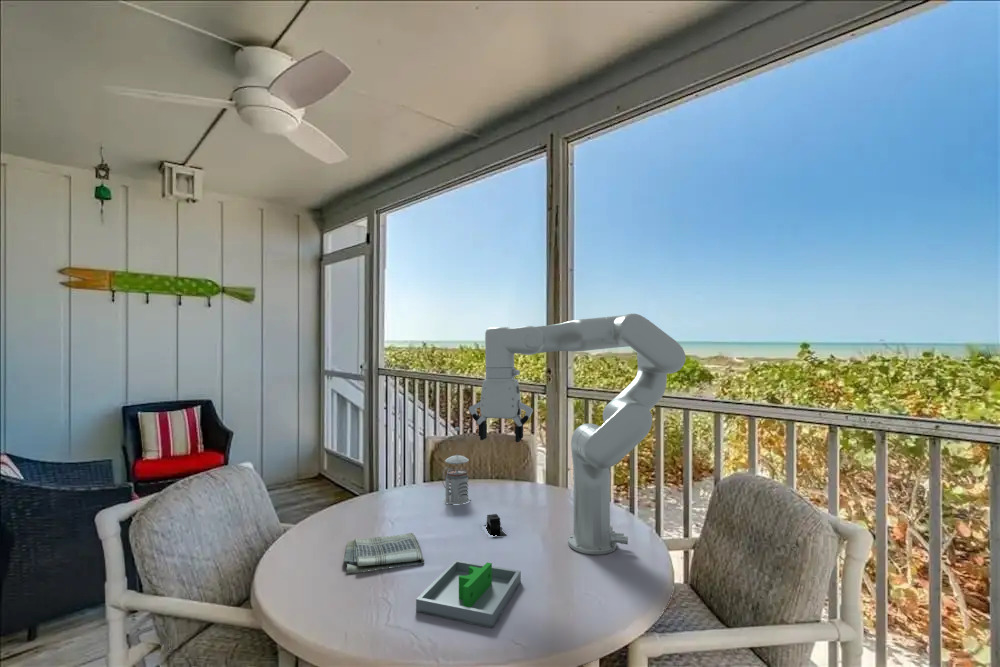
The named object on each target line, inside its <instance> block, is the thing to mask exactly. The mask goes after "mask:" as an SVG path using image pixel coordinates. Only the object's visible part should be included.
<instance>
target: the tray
mask: <svg viewBox="0 0 1000 667" xmlns="http://www.w3.org/2000/svg"><path fill="white" fill-rule="evenodd" d="M484 565H485V564H482V563H476V562H471V561H466V560H465V561H464V560H458V559H454V560H453V562H451V563H450V564H449V565H448V566H447V567H446V568H445V569H444V570H443V571H442V573H441V574H439V576H437V577H436V578H435V580H433V582H432V583H431V584H429V585H428V586H427V588H425V589H424V591H422V592H421V593H420V595H418V597H416V599H415V612H416V613H418V614H424V615H429V616H433V617H439V618H443V619H447V620H451V621H455V622H456V621H457V622H461V623H465V624H469V625H470V624H471V625H476V626H481V627H485V628H489V629H493V628H494V626H495V625H496V623H497V622H498V620H499V618H500V616H501V615H502V613H503V611H504V610H505V608H506V607H507V606H508V604H509V602H510V601H511V599H512V597H513V595H514V594H515V592H516V591H517V589H518V587H519V586H520V584H521V583H522V581H521V580H522V578H521V576H522V575H521V573H522V572H521V570H518V569H512V568H506V567H498V566H493V565H492V584H491V585H490V587H489V588H488V589H487V590H486V591H485V592H484V593H483V594H482V596H481V597H480V598H479V599H478V600H477V601H476V602H475V603H474V605H473V606H472V607H471V608H470V607H465V606H463V600H461V599H459V576H460V575H462V576H466V575H469V567H470V566H473V567H478V568H482V567H483V566H484Z"/></svg>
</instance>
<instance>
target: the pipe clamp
mask: <svg viewBox="0 0 1000 667" xmlns="http://www.w3.org/2000/svg"><path fill="white" fill-rule="evenodd" d="M483 565H484V566H483V567H482V568H478V567H473V566H470V567H469V575H466V576H462V575H460V576H459V599H461V600H463V606H465V607H470V608H471V607H472V606H473V605H474V603H475V602H476V601H477V600H478V599H479V598H480V597H481V596H482V594H483V593H484V592H485V591H486V590H487V589H488V588H489V587H490V585H491V584H492V566H493V563H491V562H486V563H485V564H483Z"/></svg>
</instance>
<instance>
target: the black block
mask: <svg viewBox="0 0 1000 667" xmlns="http://www.w3.org/2000/svg"><path fill="white" fill-rule="evenodd" d="M486 525H487V527H486V529H487V531H488V533H489V534H490V535H493V536H495V535H497V536H503V537H508V535H507V534H505V533H506V532H505V531H504V530H503V531H504V532H505V533H504V532H503V531H502V529H503V528H502V527H501V528H502V529H501V528H500V526H501V518H500V516H499V515H498V514H497V513H492V514H487V515H486Z"/></svg>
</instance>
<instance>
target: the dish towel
mask: <svg viewBox="0 0 1000 667" xmlns="http://www.w3.org/2000/svg"><path fill="white" fill-rule="evenodd" d="M345 548H346V549H345V555H344V558H343V562H344V563H346V565H347V567H346V573H347V574H346V575H349V574H348V573H352V574H356V573H355V572H360V573H364V572H363V571H368V570H375V569H381V570H383V569H382V568H388V569H390V568H389V567H397V568H399V567H398V566H405V567H409V566H408V565H412V566H417V565H416V564H421V565H423V564H424V563H425V558H424V556H423V553H422V549H421V546H420V543H419V540H418V539H417V537H416V535H415V534H414V533H413V532H408V533H405V534H400V535H399V534H397V535H390V536H377V537H376V536H375V537H369V538H354V540H348V541H347V543H346V547H345ZM375 571H376V570H375ZM368 572H369V571H368Z"/></svg>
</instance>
